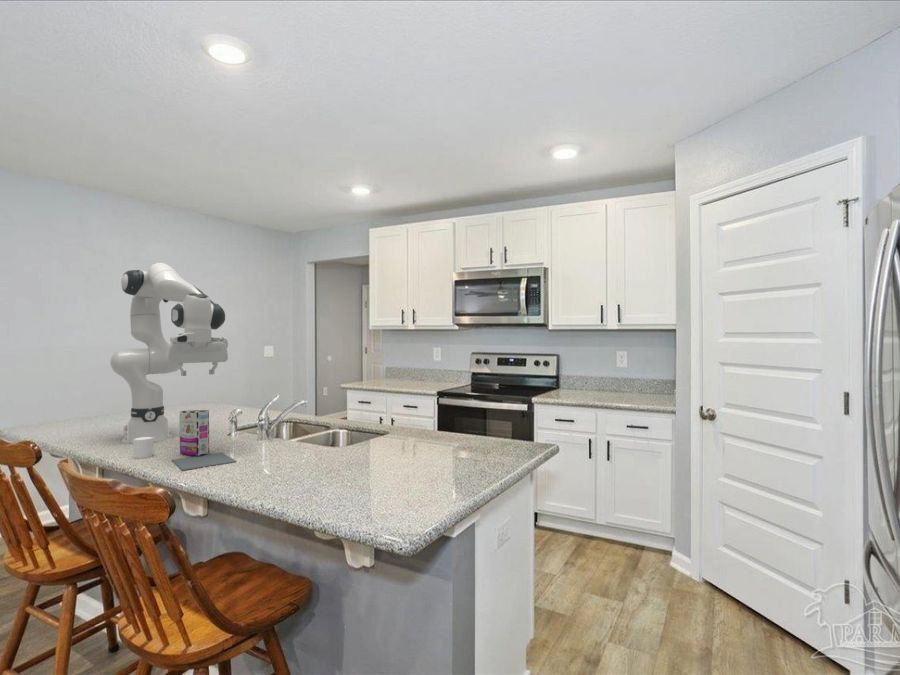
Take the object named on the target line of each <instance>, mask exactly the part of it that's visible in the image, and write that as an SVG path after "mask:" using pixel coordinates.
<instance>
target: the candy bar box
mask: <svg viewBox="0 0 900 675" xmlns="http://www.w3.org/2000/svg"><path fill="white" fill-rule="evenodd" d="M181 454H182V455H183V456H189V457H194V456H202V455H208V454H210V410H209V409H208V410H207V409H187V410H180V411H179V455H181Z"/></svg>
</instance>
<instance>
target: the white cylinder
mask: <svg viewBox="0 0 900 675" xmlns="http://www.w3.org/2000/svg"><path fill="white" fill-rule="evenodd" d="M154 444H155V442H154V437H139V438H135V439H133V443H132V447H133V457H134V458H133V459H146V458H151V457H153V454H154V447H155V446H154Z"/></svg>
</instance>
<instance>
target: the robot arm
mask: <svg viewBox="0 0 900 675" xmlns="http://www.w3.org/2000/svg"><path fill="white" fill-rule="evenodd" d="M120 283H121V284H120V285H121V289H122V291H123V292H124V293H125V294H127V295H130V296H133V297H132V298H131V304H130V311H129V313H130V317H129V318H130V335H131V337H132V338H134V339H135V340H137V341H139V342H141V343H143V344H145V345H146V346H147V348H127V349H126V348H125V349H121V350H116V351H115V352H114V353H113V355H112V356H111V358H110V366H111V369H112V371H114V373H115V374H117V375H119V376H120V377H122V378H123V379H124V380H125V381H126V383H127V384H128V386H129V388H130V392H131V400H132V401H131V403H132V404H131V406H132V407H131V410H130V417H131V418H130V419H129V421H128V422H127V423H126V425H124V426H123V427H124V428H123V429H124V430H123V431H124V432H125V435H124V436H123V437H122V439H121V441H120V444H133V439H135V438H139V437H154V443H158V442H163V441H165V439H166V440H168V439H171V437H172V438H173V437H174V435H173V434H170V432H169V429H170V428H169V419H168V418H167V417H166V416H165V415H164V414H165V406H164V403H163V401H164V396H163V395H164V393H163V391H164V390H163V388H162V386H161V385H160V384H158V383H155V382H153V381H149V380H148V379H147V375H159V374H160V375H163V374H171V373H174V372H177V371H178V370H179V371H180V376H181V377H184V376H185V377H186V376H187V370H184V368H183V367H184V364H191V363H192V364H193V363H194V364H196V363H198V364H199V363H200V364H202V363H212V365H213V366H212V368H211V369H208V374H209V375H215V370H216V368H217V367H218V366H219V364H218V363H225V362H227V361H228V360H229V355H228V354H229V353H228V348H229V341H228V340H227V339H226V338H225V337H212V330H215V331H216V330H217V329H219V328H220V327H222V326H223V325H224V323H225V322H226V313H225V310H224V309H223V307H222V306H221V305H219V304H218V303H215V302H214V301H212V299H210V296H208V295H207V294H205V293H204V292H203V291H201V289H199V288H198V287H197V286H195V285H193V284H191V283H190V282H188V281H187V280H185V279H184V278H182V277H181V276H180V274H179V273H178V272H177V271H176V270H175V269H174V268H173V267H172V266H170V265H169V264H167V263H164V262H156V263H154V264H151V265H150V266H149V267H148V269H147V271H146V270H141V269H132V270H127V271H126V272H124V273H123V275H122V277H121V282H120ZM162 301H163V302H164V303H165V304H166V303H168V302H176V305H174V306H173V307H172V308H171V313H170V315H171V316H170V317H171V323H172V324H173V325H174V326H176V327H177V328H180V329H184V331H183V333H178V334H176V335H171V336H170V338H169V340H170V343H168V342H167V340H166V339H165V337H164V335H163V331H162V330H163V329H162V324H161V322H162V321H161V311H160V310H161V309H160V303H161V302H162ZM167 438H168V439H167Z"/></svg>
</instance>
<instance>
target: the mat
mask: <svg viewBox="0 0 900 675" xmlns="http://www.w3.org/2000/svg"><path fill="white" fill-rule="evenodd" d="M171 462H172V463H173V464H174V465H176V467H177V468H178V469H180V471H182V472H184V471H185V472H186V471H192V470H196V469H197V468H199V469H204V468H203V467H205V468H209V466H211V467H216V465H217V466H222V465H228V464H235V463H237V460H235V459H234V458H232V457H230V456H229V455H227V454H226V453H224V452H216V453H209V454H207V455H202V456H188V457H181V458H175V459H171ZM197 470H198V469H197Z"/></svg>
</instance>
